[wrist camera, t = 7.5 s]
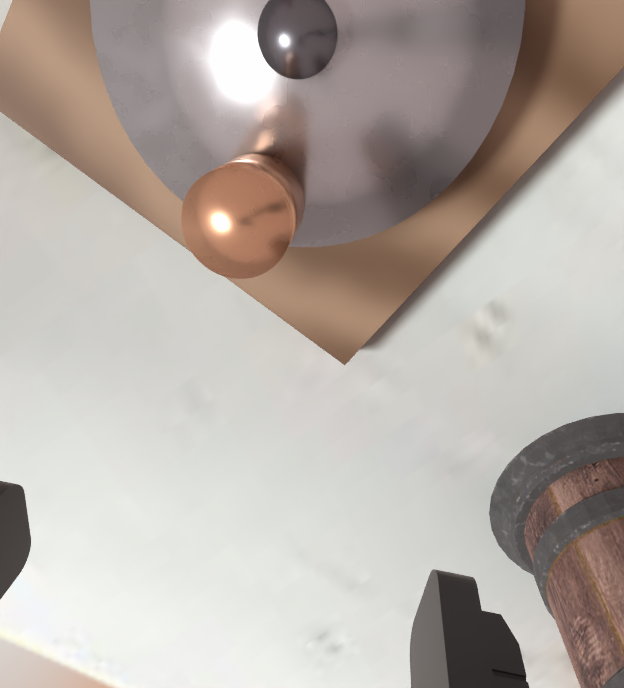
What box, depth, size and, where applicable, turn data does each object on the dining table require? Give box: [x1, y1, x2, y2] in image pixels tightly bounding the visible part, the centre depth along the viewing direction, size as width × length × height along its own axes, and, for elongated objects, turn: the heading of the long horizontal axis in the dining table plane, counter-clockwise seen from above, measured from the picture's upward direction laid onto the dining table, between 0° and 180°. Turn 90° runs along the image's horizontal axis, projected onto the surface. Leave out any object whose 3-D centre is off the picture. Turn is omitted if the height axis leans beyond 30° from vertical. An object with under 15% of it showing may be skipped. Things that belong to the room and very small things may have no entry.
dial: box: [90, 0, 525, 279], centre depth 23 cm, size 20×20×6 cm
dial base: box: [0, 0, 624, 365], centre depth 27 cm, size 26×26×2 cm
